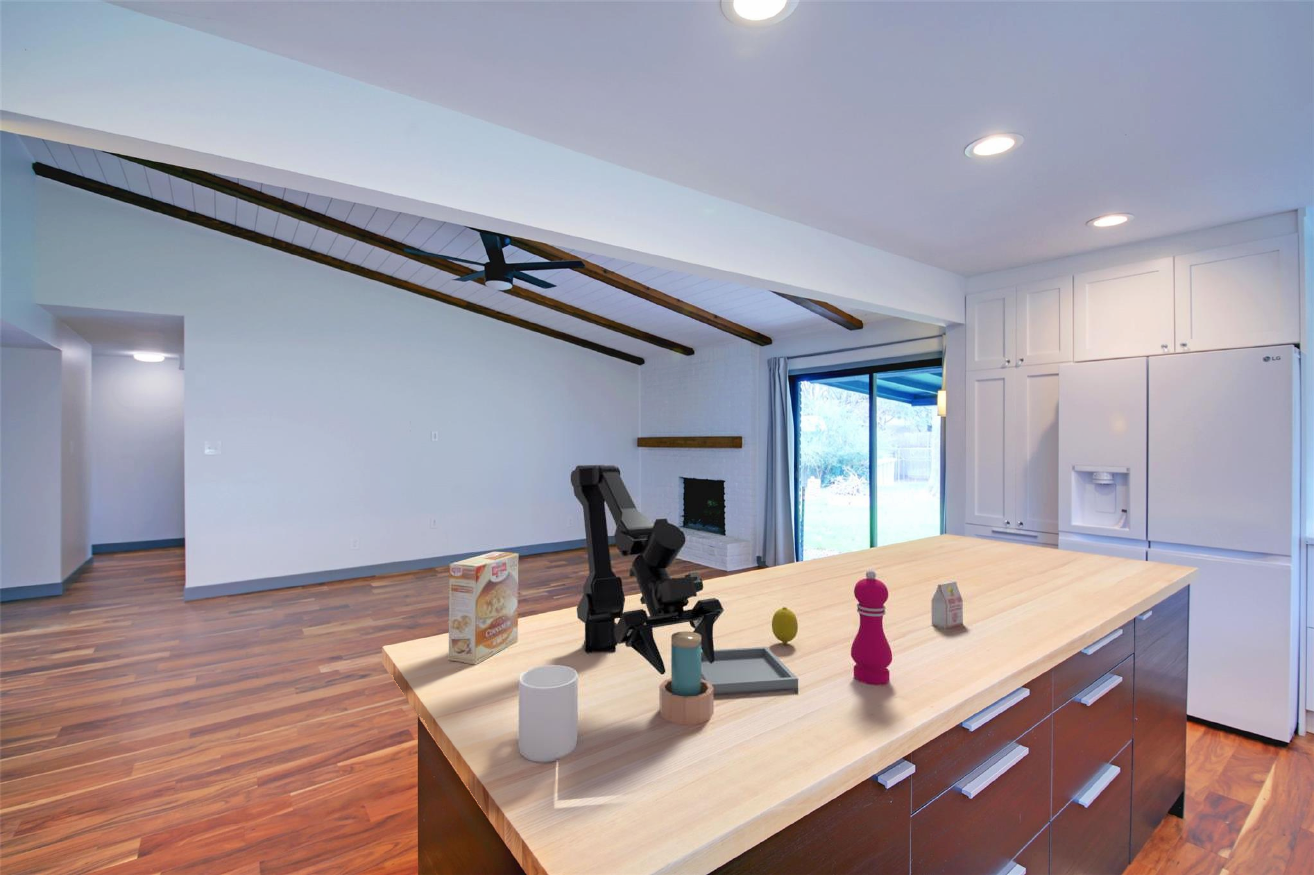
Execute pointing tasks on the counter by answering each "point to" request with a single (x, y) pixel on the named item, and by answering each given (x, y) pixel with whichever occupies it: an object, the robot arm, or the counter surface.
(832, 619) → the counter surface
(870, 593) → the pepper mill
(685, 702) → the terracotta cup
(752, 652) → the tray
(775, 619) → the lemon
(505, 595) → the coffeecake box
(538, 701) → the mug
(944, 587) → the milk carton
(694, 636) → the spice jar
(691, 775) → the counter surface
